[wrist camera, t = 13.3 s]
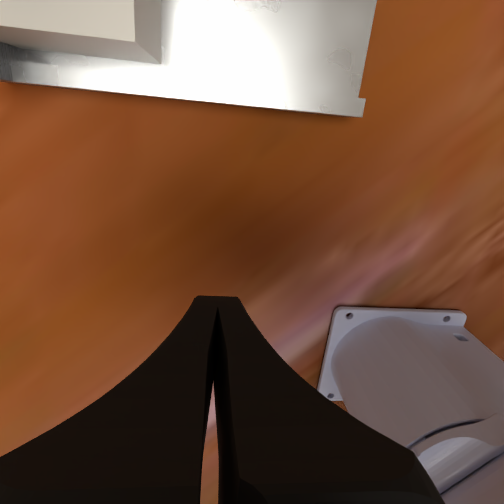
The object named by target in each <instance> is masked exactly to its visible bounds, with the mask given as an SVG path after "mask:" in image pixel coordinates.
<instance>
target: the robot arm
mask: <svg viewBox="0 0 504 504" xmlns="http://www.w3.org/2000/svg"><path fill="white" fill-rule="evenodd" d="M348 313H351V314H350V315H349V316H346V314H348ZM445 316H446V318H444V317H445ZM443 318H444V319H443ZM466 318H467V316H466V314H464V313H463V312H462V311H457V310H428V309H399V308H369V307H338V308H336V309H335V310H334V313H333V317H332V322H331V327H330V331H329V336H328V341H327V345H326V350H325V355H324V359H323V364H322V369H321V374H320V378H319V383H318V388H317V390H316V389H315V388H314V387H312V386H311V385H310V384H309V383H307V382H306V381H305V380H304V379H303V378H302V377H300V376H299V375H298V374H297V373H296V372H295V371H294V370H293V369H292V368H291V367H290V366H289V365H288V364H287V363H286V362H285V361H284V360H283V359H282V358H281V357H280V356H279V355H278V353H277V352H276V351H275V350H274V349H273V348H272V346H271V345H270V344H269V343H268V342H267V340H266V339H265V338H264V336H263V335H262V334H261V332H260V331H259V330H258V328H257V327H256V325H255V324H254V323H253V321H252V320H251V318H250V316H249V315H248V313H247V312H246V310H245V308H244V306H243V305H242V303H241V301H240V299H239V298H238V297H225V296H197V297H196V298H194V300H193V302H192V304H191V306H190V307H189V309H188V311H187V312H186V314H185V315H184V316H183V318H182V319H181V321H180V322H179V323H178V324H177V326H176V327H175V328H174V330H173V331H172V332H171V333H170V335H169V336H168V337H167V338H166V339H165V340H164V341H163V342H162V344H161V345H160V346H159V347H158V348H157V349H156V350H155V351H154V352H153V353H152V354H151V355H150V356H149V357H148V358H147V359H146V360H145V361H144V362H143V363H142V364H141V365H140V366H139V367H138V368H137V369H135V370H134V371H133V372H132V373H131V374H130V375H128V376H127V377H126V378H125V379H124V380H122V381H121V382H120V383H119V384H117V385H116V386H115V387H114V388H113V389H111V390H110V391H109V392H107V393H106V394H105V395H103V396H102V397H101V398H99V399H98V400H96V401H95V402H93V403H92V404H90V405H89V406H87V407H86V408H84V409H83V410H81V411H80V412H78V413H77V414H75V415H73V416H72V417H70V418H69V419H67V420H66V421H64V422H62V423H61V424H59V425H57V426H56V427H54V428H52V429H51V430H49V431H47V432H45V433H43V434H42V435H40V436H38V437H36V438H34V439H33V440H31V441H29V442H27V443H25V444H23V445H22V446H20V447H18V448H16V449H14V450H13V451H11V452H9V453H7V454H5V455H3V456H1V457H0V504H200V492H201V474H202V461H203V451H204V443H205V436H206V429H207V422H208V415H209V407H210V400H211V393H212V386H213V381H214V395H215V410H216V424H217V438H218V455H219V490H218V504H504V362H503V361H502V360H501V359H500V358H499V357H498V356H496V355H495V354H494V353H493V352H492V351H491V350H490V349H488V348H487V347H486V346H485V345H484V344H483V343H482V342H480V341H479V340H478V339H477V338H476V337H475V336H473V335H472V334H471V333H470V332H469V331H468V330H467V329H465V328H464V327H463V326H464V324H465V321H466ZM330 393H331V394H330ZM328 394H329V395H328ZM332 401H344V404H345V406H346V408H347V411H348V413H347V412H346V411H344V410H343V409H341V408H340V407H339V406H337V405H336V404H334V403H333V402H332Z"/></svg>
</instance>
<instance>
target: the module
mask: <svg viewBox="0 0 504 504" xmlns="http://www.w3.org/2000/svg"><path fill="white" fill-rule="evenodd" d="M0 42H3V43H6V44H9V45H12V46H15V47H18V48H22V49H31V50H40V51H48V52H57V53H66V54H75V55H83V56H92V57H101V58H110V59H118V60H127V61H136V62H145V63H153V64H161V0H0Z"/></svg>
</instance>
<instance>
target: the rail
mask: <svg viewBox="0 0 504 504" xmlns="http://www.w3.org/2000/svg"><path fill="white" fill-rule="evenodd" d="M376 2H377V0H161V64H153V63H145V62H136V61H127V60H118V59H110V58H101V57H92V56H83V55H75V54H66V53H57V52H48V51H40V50H31V49H22V48H18V47H15V46H12V45H9V44H6V43H3V42H0V82H7V83H16V84H26V85H36V86H46V87H56V88H65V89H75V90H85V91H95V92H105V93H115V94H124V95H134V96H144V97H154V98H164V99H174V100H183V101H193V102H203V103H213V104H223V105H232V106H242V107H252V108H262V109H272V110H282V111H291V112H301V113H311V114H321V115H331V116H341V117H362V116H363V111H364V106H365V101H366V99H363V98H358V96H359V90H360V85H361V80H362V75H363V70H364V64H365V59H366V54H367V49H368V43H369V38H370V33H371V28H372V23H373V17H374V12H375V7H376Z"/></svg>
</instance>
